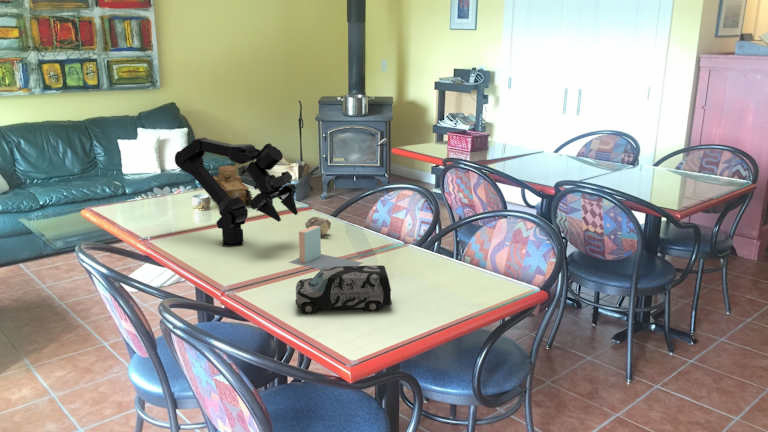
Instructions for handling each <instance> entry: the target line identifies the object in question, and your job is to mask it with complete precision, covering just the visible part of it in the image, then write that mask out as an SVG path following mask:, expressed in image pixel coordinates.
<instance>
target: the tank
mask: <svg viewBox="0 0 768 432" xmlns="http://www.w3.org/2000/svg"><path fill="white" fill-rule="evenodd" d="M236 170H237V168H236V166H235V165H221V166H218V174H217V175H215V176H214V175H213V178H214V179H215V180H216V181H217V182H218V183H219V185H220V186H221V187H222V188H223V189H224V190H225V192H226V193H227V194H228V195H229V196H230V197H231V198H236V197H239V198H240V199H241V201H242V202H243V203H244V204H245V205H246V206H245V207H247V206H250V201H251V200H252V199H253V198H254V197H253V194H252V191H251V190H250V188H249V187H248V186H247V185H246V184H245V183H243V181H242V177H241V176H240V175H238V174H237V173H236V172H237V171H236Z"/></svg>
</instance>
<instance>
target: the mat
mask: <svg viewBox="0 0 768 432" xmlns="http://www.w3.org/2000/svg"><path fill="white" fill-rule="evenodd" d="M288 263H289V264H293V265H299V266H303V267H306V268H307V267H308V268H312V269H317V270H319V271H320V270H321V269H322V268H323V267H334V266H361V265H362V264H363V262H361V261H356V260H352V259H347V258H341V257H337V256H331V255H327V254H322V253H321V256H320V257H318V258H316V259H314V260H312V261H309V262H307V263H302V262H300V257H298V258H296V259H293V260H291V261H288Z"/></svg>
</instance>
